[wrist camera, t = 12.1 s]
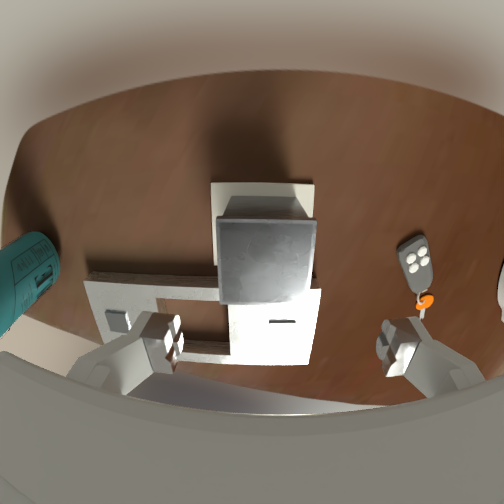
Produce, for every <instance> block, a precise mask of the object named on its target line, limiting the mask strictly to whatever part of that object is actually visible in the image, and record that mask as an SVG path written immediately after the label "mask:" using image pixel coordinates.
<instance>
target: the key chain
mask: <svg viewBox="0 0 504 504" xmlns="http://www.w3.org/2000/svg"><path fill="white" fill-rule="evenodd" d="M396 251H397V257H398V260H399V262H400V265H401V267H402V270H403V272H404V275H405V277H406V280H407V283H408V285H409V287H410V289H411V290H412V291H413V292H415V293H416V294H417V303H416V308H417V309H418V310H421V311H420V319H421V318H422V319H423V318H424V312H425V308H427V307H429V306H430V305H431V304H432V302H433V300H434V299H433V296H432V295H425V296H423V297H421V298H420V299H419V296H420V293H421V292H422V293H423V292H424V291H426V290H428V289H427V288H428V287H429V286H430V285H431V282H432V280H433V271H432V265H431V258H430V253H429V247H428V242H427V240H426V238H425V236H423V235H417V236H415V237H414V238H412V239H410V240H409V241H407V242H406V243H404V244H402V245H401V246H399V247H398V249H397V250H396Z"/></svg>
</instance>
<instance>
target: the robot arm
mask: <svg viewBox="0 0 504 504" xmlns="http://www.w3.org/2000/svg"><path fill="white" fill-rule="evenodd" d="M498 302H499V305H500V307H501V309H502V321H503V322H504V265H503V268H502V271H501V275H500V279H499V285H498ZM180 324H181V323H180V318H179V316H178V315H174V314H166V313H158V312H149V311H142V312H141V313H140V315H139V316H138V318H137V319H136V321H135V322H134V324H133V325H132V327H131V329H130V330H129V332H128V333H127V335H121V336H120V337H118V338H116V339H114V340H112V341H110V342H108V343H106V344H104V345H102V346H100V347H99V348H97V349H95V350H93V351H91V352H89V353H87V354H85V355H83V356H81V357H79V358H78V360H77V361H76V362H75V364H74V365H73V367H72V368H71V370H70V371H69V373H68V374H67V376H66V377H64V376H61V375H59V374H56V373H54V372H51V371H49V370H46V369H44V368H41V367H39V366H37V365H34V364H32V363H30V362H27V361H25V360H23V359H21V358H19V357H17V356H15V355H13V354H11V353H9V352H5V351H2V352H0V504H504V374H502V375H500V376H497V377H495V378H492V379H489V380H487V381H486V380H485V379H484V377H483V376H482V374H481V372H480V371H479V369H478V367H477V366H476V364H475V363H474V362H472V361H470V360H469V359H467V358H465V357H464V356H462V355H460V354H459V353H457V352H455V351H454V350H452V349H450V348H449V347H447V346H445V345H444V344H442V343H440V342H439V341H437V340H432V338H431V336H430V335H429V333H428V332H427V330H426V329H425V327H424V325H423V324H422V322H421V321H420V319H419V318H418V317H407V318H398V319H385V320H384V322H383V324H382V327H381V328H382V330H383V332H382V333H381V334H380V335H379V336H378V339H377V342H376V351H377V355H378V357H379V358H380V359H381V360H383V363H382V368H383V370H384V373H385V375H386V377H388V376H398V375H404V377H406V378H407V379H408V380H409V381H410V382H411V383H412V384H413V385H414V386H415V387H416V388H418V389H419V390H420V391H421V392H422V393H423V394H424V395H425V396H426V397H427V399H422V400H418V401H413V402H409V403H403V404H398V405H393V406H387V407H380V408H373V409H366V410H358V411H349V412H337V413H323V414H298V415H271V414H270V415H269V414H246V413H231V412H220V411H209V410H202V409H194V408H187V407H181V406H174V405H168V404H163V403H157V402H153V401H148V400H143V399H139V398H134V397H130V396H126V394H127V393H129V392H130V391H131V390H132V389H134V388H135V387H136V386H137V385H139V384H140V383H141V382H142V381H143V380H145V379H146V378H147V377H148V376H150V375H151V374H152V373H153V372H160V373H168V374H173V373H174V371H175V368H176V365H177V363H178V362H177V358H176V357H177V356H179V355H180V354H181V351H182V347H183V334H182V331H181V330H180V329H179V326H180Z"/></svg>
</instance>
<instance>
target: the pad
mask: <svg viewBox="0 0 504 504" xmlns="http://www.w3.org/2000/svg"><path fill="white" fill-rule="evenodd" d="M314 186H315V185H314V184H297V183H264V182H212V183H211V206H212V231H213V252H214V265H217V244H216V217H217V216H223V213H224V211H225V209H226V207H227V205H228V202H229V200H230V198H231V196H282V197H297V199H298V201H299V202H300V204H301V205H302V207H303V209H304V210H305V212H306V213H307V215H308V217H312V216H313V202H314Z"/></svg>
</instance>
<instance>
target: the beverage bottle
mask: <svg viewBox="0 0 504 504" xmlns="http://www.w3.org/2000/svg"><path fill="white" fill-rule="evenodd" d="M28 232H29V233H27V234H25V235H23V234H22V235H23V236H22V237H20V238H18V237H17V238H18V239H17V240H12V241H14V242H12V243H11V244H9V243H10V242H9V243H8V244H9V245H7V246H6V247H4V246H3V247H4V248H3V249H1V250H0V337H1V336H2V335H3V334H4V333H5V332H6V331H7V330H8V329H9V330H10V327H11V325H12V324H13V323H14V322H15V321H16V320H17V319H18V318H19V317H20V316H21V315H22V314H23V313H25V311H26V310H27V309H29V307H30V306H31V305H32V304H33V303H34V302H35V301H36V302H37V301H38V300H39V299H40V298H41V297H40V296H41V295H42V294H43V293H44V292H45V291H46V290H48V288H50V287H51V286H52V284H53V283H54V282H55V281H56V280H57V278H58V276H59V273H60V261H59V257H58V254H57V251H56V249H55V247H54V245H53V244H52V242H51V241H50V240H49V239H48V238H47V237H46V236H45V235H44V234H42V233H40V232H36V231H35V232H31V231H28ZM20 236H21V235H20ZM46 292H47V291H46ZM42 296H43V295H42ZM39 297H40V298H39ZM38 298H39V299H38ZM37 299H38V300H37ZM30 308H31V307H30ZM23 315H24V314H23ZM9 330H8V331H9Z"/></svg>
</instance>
